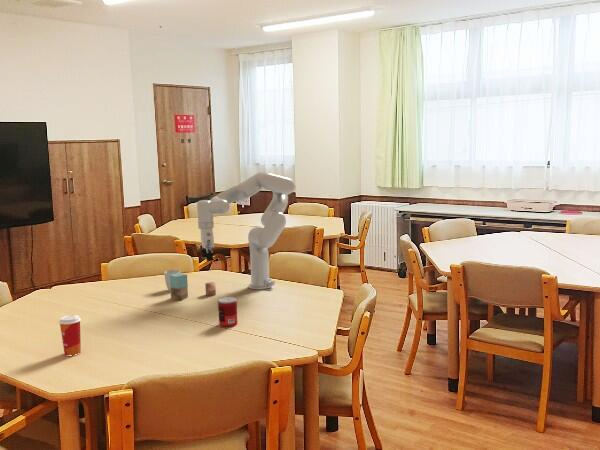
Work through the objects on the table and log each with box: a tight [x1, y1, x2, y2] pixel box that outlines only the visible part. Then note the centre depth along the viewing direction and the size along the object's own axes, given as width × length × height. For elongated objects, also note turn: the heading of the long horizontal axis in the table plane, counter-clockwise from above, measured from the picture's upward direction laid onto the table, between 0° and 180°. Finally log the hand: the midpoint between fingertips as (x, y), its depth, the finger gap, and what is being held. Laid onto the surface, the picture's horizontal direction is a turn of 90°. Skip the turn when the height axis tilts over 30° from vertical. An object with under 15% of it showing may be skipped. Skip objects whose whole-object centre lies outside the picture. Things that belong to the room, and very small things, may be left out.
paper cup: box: [58, 314, 82, 356], centre depth 225 cm, size 8×8×14 cm
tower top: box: [170, 272, 189, 289], centre depth 298 cm, size 6×6×6 cm
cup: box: [163, 269, 181, 292], centre depth 315 cm, size 8×8×10 cm
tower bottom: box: [170, 287, 189, 302], centre depth 299 cm, size 6×6×6 cm
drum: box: [204, 281, 217, 297], centre depth 304 cm, size 5×5×6 cm
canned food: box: [217, 296, 238, 328], centre depth 256 cm, size 8×8×11 cm
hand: (207, 258), depth 302 cm, fingers open, 9 cm apart
